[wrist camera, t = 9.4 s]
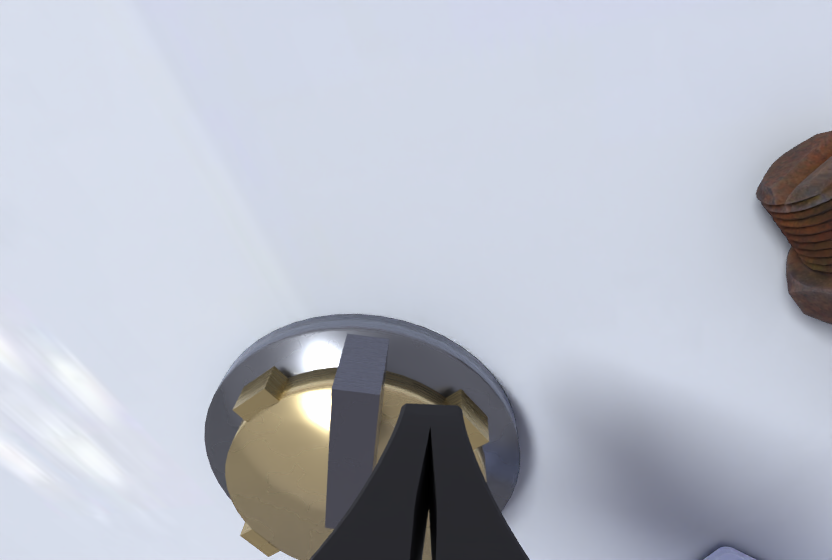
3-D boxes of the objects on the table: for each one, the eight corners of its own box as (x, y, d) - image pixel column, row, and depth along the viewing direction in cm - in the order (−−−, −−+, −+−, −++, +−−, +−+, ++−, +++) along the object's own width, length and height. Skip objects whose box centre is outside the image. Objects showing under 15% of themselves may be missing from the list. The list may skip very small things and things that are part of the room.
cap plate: (581, 407, 25) (586, 427, 24) (419, 574, 31) (417, 595, 30) (288, 255, 22) (280, 270, 21) (173, 471, 29) (163, 491, 28)
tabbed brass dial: (349, 587, 30) (334, 680, 26) (162, 442, 26) (111, 528, 22) (557, 490, 26) (575, 584, 22) (374, 297, 21) (357, 372, 17)
